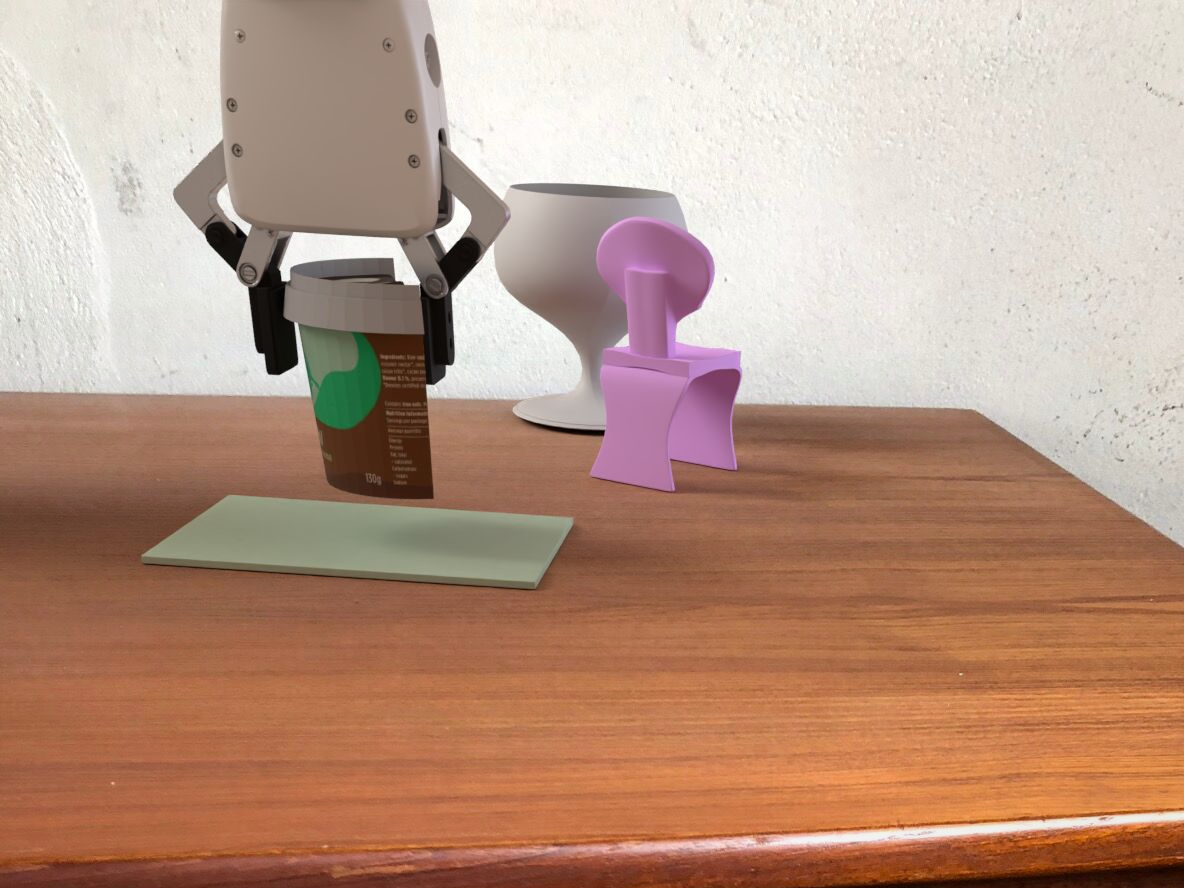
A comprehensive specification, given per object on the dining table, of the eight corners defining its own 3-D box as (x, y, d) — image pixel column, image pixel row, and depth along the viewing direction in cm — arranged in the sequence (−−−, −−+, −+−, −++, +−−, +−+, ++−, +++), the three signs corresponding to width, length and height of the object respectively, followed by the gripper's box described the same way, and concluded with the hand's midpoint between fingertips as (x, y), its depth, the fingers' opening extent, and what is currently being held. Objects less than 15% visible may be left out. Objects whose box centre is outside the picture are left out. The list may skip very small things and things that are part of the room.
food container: (296, 456, 84) (271, 255, 78) (409, 452, 85) (392, 256, 80) (311, 511, 74) (283, 286, 69) (438, 506, 76) (420, 286, 70)
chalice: (703, 439, 109) (710, 203, 101) (508, 437, 106) (499, 194, 97) (670, 401, 120) (673, 186, 112) (492, 398, 117) (483, 178, 109)
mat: (141, 563, 76) (140, 555, 76) (229, 501, 87) (228, 494, 87) (535, 589, 76) (535, 581, 76) (573, 524, 87) (573, 517, 87)
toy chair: (754, 471, 101) (766, 218, 93) (685, 494, 94) (692, 225, 86) (649, 451, 104) (652, 206, 96) (576, 473, 97) (573, 212, 89)
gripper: (528, -33, 71) (539, 374, 80) (160, -55, 71) (215, 353, 80) (497, -43, 64) (513, 399, 74) (93, -68, 64) (161, 377, 74)
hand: (357, 372), depth 77 cm, fingers closed on food container, 7 cm apart
